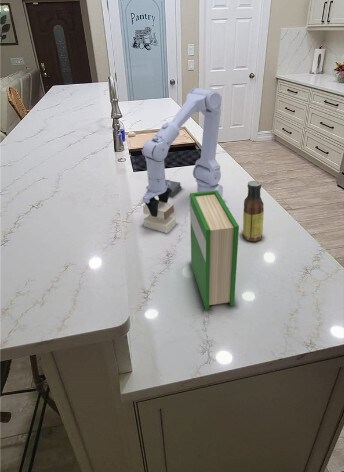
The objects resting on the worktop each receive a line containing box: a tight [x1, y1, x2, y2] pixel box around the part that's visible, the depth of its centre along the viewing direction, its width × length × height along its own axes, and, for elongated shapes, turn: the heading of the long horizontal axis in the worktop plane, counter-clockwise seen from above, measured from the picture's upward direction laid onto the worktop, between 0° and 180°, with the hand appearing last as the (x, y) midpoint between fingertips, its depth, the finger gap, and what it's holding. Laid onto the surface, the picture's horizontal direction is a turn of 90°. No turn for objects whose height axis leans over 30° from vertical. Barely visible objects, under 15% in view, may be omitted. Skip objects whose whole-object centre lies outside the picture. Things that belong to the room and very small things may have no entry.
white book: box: [142, 201, 175, 219], centre depth 114 cm, size 9×6×3 cm, turn 60°
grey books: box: [168, 180, 183, 198], centre depth 140 cm, size 11×8×3 cm
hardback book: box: [189, 190, 240, 311], centre depth 85 cm, size 18×7×24 cm, turn 9°
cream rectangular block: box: [143, 215, 177, 234], centre depth 116 cm, size 10×6×3 cm, turn 60°
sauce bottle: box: [242, 180, 265, 242], centre depth 104 cm, size 6×6×20 cm
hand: (158, 211), depth 114 cm, fingers closed on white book, 5 cm apart
